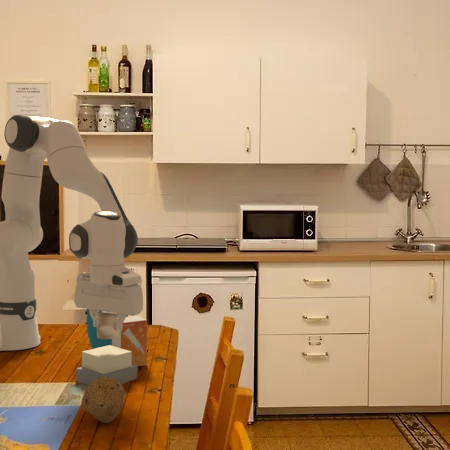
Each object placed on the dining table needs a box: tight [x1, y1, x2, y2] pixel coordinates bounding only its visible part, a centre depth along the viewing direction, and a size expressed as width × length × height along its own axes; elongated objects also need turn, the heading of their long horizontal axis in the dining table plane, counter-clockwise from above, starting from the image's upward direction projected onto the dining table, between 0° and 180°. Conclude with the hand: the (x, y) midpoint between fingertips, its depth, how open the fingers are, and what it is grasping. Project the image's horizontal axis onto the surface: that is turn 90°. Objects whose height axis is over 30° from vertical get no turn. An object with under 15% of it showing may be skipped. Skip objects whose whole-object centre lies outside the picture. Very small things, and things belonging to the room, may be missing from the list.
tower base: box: [75, 364, 138, 386], centre depth 165 cm, size 11×11×4 cm
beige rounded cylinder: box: [97, 311, 119, 339], centre depth 163 cm, size 6×6×6 cm
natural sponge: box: [81, 377, 126, 424], centre depth 136 cm, size 9×9×10 cm
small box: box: [112, 315, 148, 367], centre depth 178 cm, size 8×6×13 cm
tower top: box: [81, 345, 132, 374], centre depth 164 cm, size 9×9×4 cm
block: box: [86, 309, 129, 349], centre depth 191 cm, size 12×5×20 cm, turn 101°
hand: (107, 328), depth 163 cm, fingers closed on beige rounded cylinder, 5 cm apart
